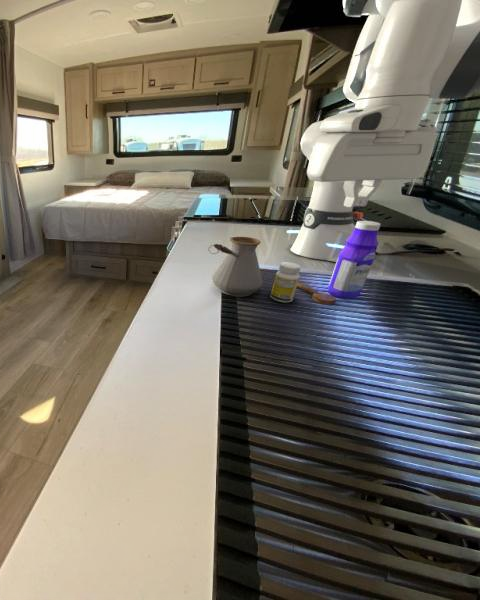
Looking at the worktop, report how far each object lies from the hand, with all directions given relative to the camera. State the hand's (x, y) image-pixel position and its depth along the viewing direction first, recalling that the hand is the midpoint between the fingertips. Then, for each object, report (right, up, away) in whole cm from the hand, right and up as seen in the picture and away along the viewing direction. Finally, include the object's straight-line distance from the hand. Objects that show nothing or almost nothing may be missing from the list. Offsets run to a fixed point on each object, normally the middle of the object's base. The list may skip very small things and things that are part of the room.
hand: (354, 206), depth 60 cm
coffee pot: (-15, -16, +20) cm, 30 cm away
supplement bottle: (-2, -17, +19) cm, 25 cm away
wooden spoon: (+6, -14, +23) cm, 28 cm away
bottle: (+14, -16, +20) cm, 29 cm away
